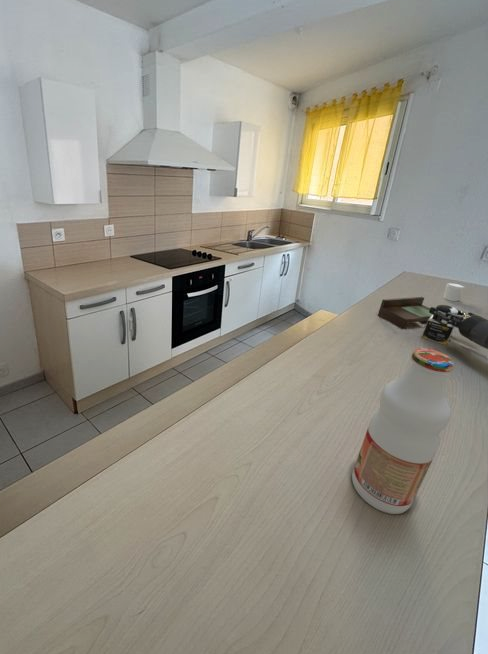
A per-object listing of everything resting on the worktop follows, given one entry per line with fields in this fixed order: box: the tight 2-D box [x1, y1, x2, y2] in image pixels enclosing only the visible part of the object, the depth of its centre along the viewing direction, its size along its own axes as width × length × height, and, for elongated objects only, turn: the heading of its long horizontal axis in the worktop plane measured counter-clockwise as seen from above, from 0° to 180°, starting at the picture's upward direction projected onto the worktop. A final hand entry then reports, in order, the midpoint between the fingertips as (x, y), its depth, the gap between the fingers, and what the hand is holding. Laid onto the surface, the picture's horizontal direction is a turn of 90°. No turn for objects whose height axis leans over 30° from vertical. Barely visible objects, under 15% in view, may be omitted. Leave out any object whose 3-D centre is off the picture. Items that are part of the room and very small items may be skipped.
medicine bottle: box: [421, 304, 459, 346], centre depth 111 cm, size 7×7×12 cm
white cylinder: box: [442, 282, 466, 302], centre depth 150 cm, size 7×7×7 cm
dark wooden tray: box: [377, 296, 432, 330], centre depth 126 cm, size 20×12×7 cm, turn 105°
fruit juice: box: [351, 347, 455, 515], centre depth 52 cm, size 9×9×28 cm
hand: (440, 309), depth 112 cm, fingers open, 7 cm apart
